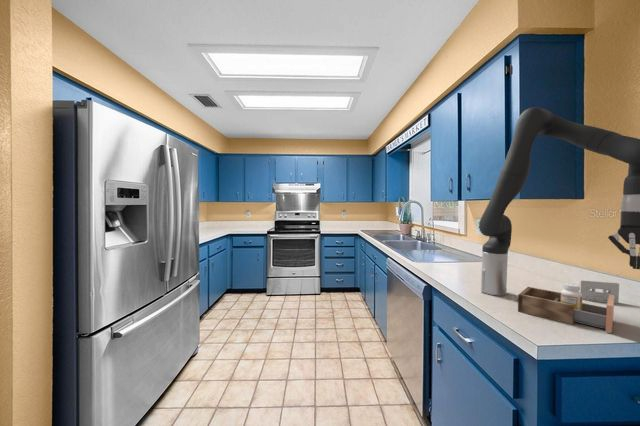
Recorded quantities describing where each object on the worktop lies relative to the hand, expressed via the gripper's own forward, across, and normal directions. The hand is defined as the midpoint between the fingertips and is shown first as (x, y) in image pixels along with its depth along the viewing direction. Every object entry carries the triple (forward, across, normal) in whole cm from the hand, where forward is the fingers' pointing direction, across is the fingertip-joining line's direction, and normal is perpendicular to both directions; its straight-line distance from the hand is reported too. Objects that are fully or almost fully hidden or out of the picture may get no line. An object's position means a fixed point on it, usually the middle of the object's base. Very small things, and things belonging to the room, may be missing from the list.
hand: (636, 268), depth 85 cm
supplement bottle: (+18, -14, 0) cm, 23 cm away
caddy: (+19, -20, 0) cm, 28 cm away
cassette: (+19, -9, +30) cm, 37 cm away
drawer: (+19, -12, 0) cm, 22 cm away
